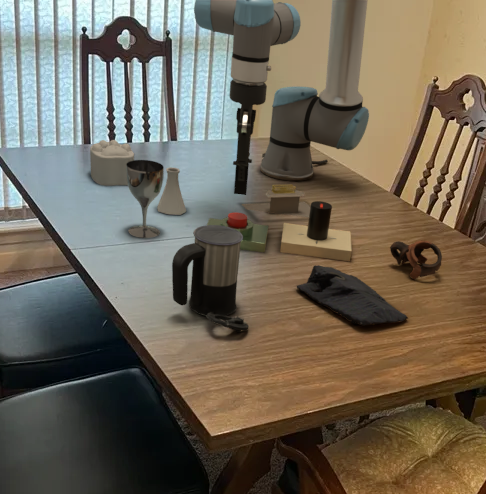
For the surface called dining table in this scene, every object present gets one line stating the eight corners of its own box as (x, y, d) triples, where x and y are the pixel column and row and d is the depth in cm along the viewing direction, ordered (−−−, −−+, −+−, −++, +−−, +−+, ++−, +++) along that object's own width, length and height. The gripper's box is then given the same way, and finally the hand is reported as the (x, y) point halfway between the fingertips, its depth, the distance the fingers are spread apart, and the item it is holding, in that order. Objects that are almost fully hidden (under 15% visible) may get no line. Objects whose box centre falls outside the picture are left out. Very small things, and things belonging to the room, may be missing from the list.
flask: (189, 207, 190) (191, 167, 184) (183, 217, 184) (184, 176, 178) (160, 203, 190) (161, 162, 184) (153, 213, 184) (154, 171, 178)
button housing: (267, 234, 182) (269, 218, 179) (264, 252, 173) (266, 235, 170) (208, 226, 181) (209, 210, 179) (202, 244, 172) (203, 227, 170)
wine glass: (168, 231, 176) (170, 166, 168) (149, 241, 170) (150, 174, 161) (139, 222, 178) (140, 157, 170) (119, 232, 172) (118, 165, 164)
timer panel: (348, 241, 184) (350, 230, 183) (349, 261, 174) (351, 250, 173) (282, 232, 184) (284, 222, 182) (280, 252, 174) (281, 241, 172)
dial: (307, 231, 180) (311, 198, 175) (327, 233, 180) (332, 201, 175) (306, 238, 176) (310, 205, 171) (327, 241, 176) (332, 208, 171)
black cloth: (353, 336, 145) (357, 314, 143) (290, 287, 160) (293, 266, 157) (413, 322, 153) (418, 301, 150) (349, 277, 167) (352, 256, 165)
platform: (241, 203, 196) (243, 178, 193) (304, 201, 203) (307, 177, 200) (258, 221, 188) (260, 195, 184) (323, 218, 195) (327, 193, 191)
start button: (247, 222, 177) (248, 213, 176) (245, 229, 173) (246, 220, 172) (228, 219, 177) (229, 211, 175) (226, 226, 173) (227, 218, 172)
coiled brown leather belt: (435, 267, 179) (450, 246, 171) (424, 297, 174) (439, 277, 167) (389, 245, 178) (401, 223, 171) (376, 275, 174) (389, 253, 166)
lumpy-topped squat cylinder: (97, 186, 194) (96, 151, 189) (86, 169, 204) (84, 135, 199) (137, 185, 199) (138, 151, 194) (124, 168, 208) (124, 135, 203)
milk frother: (208, 291, 154) (212, 220, 145) (274, 317, 148) (283, 244, 140) (163, 315, 143) (165, 240, 135) (233, 344, 137) (239, 268, 129)
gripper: (265, 90, 152) (255, 205, 166) (268, 76, 163) (258, 185, 177) (228, 86, 152) (220, 201, 165) (232, 71, 162) (225, 181, 176)
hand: (240, 193), depth 171 cm, fingers closed
